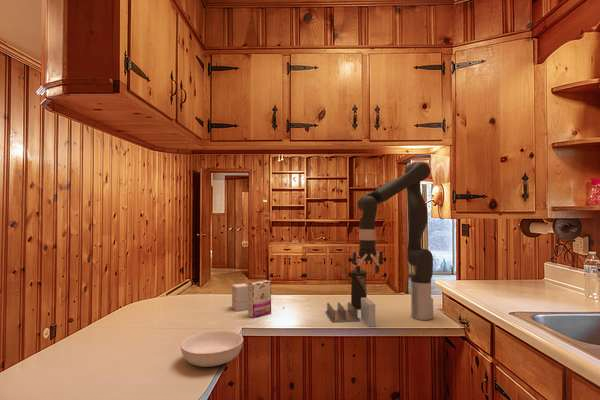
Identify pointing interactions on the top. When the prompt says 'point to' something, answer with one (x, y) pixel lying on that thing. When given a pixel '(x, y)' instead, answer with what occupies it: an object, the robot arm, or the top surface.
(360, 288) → the container
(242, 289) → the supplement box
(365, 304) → the dish slab
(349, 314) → the dish rack
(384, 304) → the top surface
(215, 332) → the serving bowl
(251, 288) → the candy bar box
